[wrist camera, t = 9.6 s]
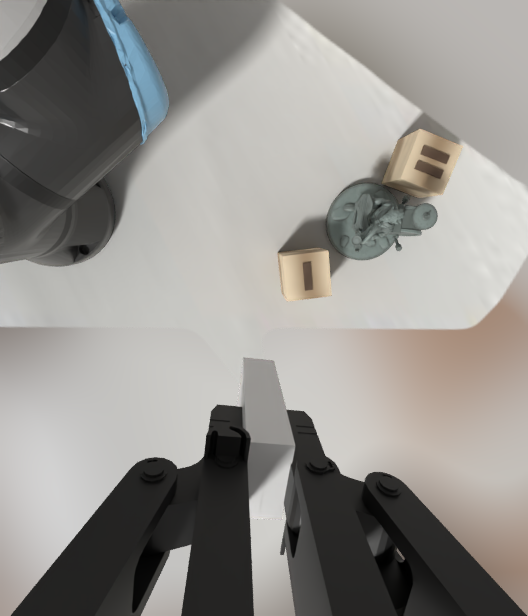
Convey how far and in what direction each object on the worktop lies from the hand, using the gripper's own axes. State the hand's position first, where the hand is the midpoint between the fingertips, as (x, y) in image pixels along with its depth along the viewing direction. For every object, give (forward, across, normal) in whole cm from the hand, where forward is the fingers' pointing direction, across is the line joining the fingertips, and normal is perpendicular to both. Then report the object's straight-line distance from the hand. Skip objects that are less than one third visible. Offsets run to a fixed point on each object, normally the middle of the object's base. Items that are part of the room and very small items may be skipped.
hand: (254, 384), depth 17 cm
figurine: (+35, +16, +10) cm, 40 cm away
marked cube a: (+35, +8, +2) cm, 35 cm away
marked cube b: (+35, +21, +18) cm, 44 cm away
